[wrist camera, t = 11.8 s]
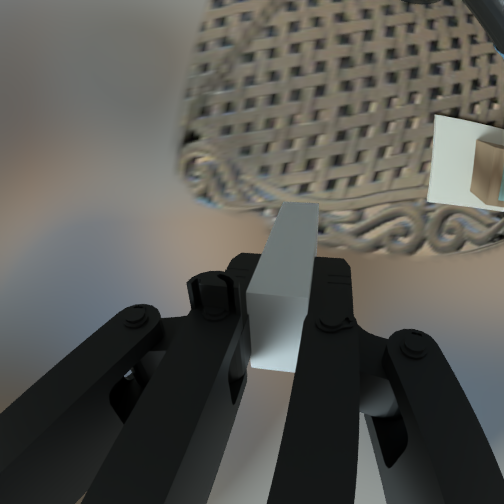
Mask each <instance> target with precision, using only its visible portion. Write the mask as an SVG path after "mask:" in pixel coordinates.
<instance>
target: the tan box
mask: <svg viewBox="0 0 504 504" xmlns="http://www.w3.org/2000/svg"><path fill="white" fill-rule="evenodd" d="M470 192H471V193H473V194H474V195H475V196H476V197H477V198H479V199H480V200H481V201H482V202H483V203H484V204H485V205H490V206H497V207H503V208H504V146H503V145H498V144H494V143H490V142H485V141H481V140H476V147H475V156H474V165H473V173H472V180H471V186H470Z"/></svg>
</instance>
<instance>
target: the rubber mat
mask: <svg viewBox="0 0 504 504" xmlns="http://www.w3.org/2000/svg"><path fill="white" fill-rule="evenodd" d="M476 140H481V141H485V142H490V143H494V144H498V145H503V146H504V129H500V128H496V127H493V126H489V125H484V124H480V123H476V122H471V121H467V120H462V119H457V118H452V117H446V116H441V115H435V123H434V140H433V152H432V163H431V172H430V181H429V189H428V196H427V201H428V202H434V203H443V204H451V205H459V206H467V207H475V208H482V209H489V210H496V211H502V212H504V208H503V207H497V206H490V205H485V204H484V203H483V202H482V201H481V200H480V199H479V198H477V197H476V196H475V195H474V194H473V193H471V192H470V186H471V180H472V173H473V165H474V156H475V147H476Z"/></svg>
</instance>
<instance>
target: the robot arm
mask: <svg viewBox="0 0 504 504" xmlns="http://www.w3.org/2000/svg"><path fill="white" fill-rule="evenodd" d="M401 1H405V2H408V3H413V4H431V3H435V2H438V1H440V0H401ZM462 1H463V2H464V3H465V4H466V6H467V7H468V8H469V10H470V11H471V12H472V13H473V15H474V16H475V17H476V19H477V20H478V21H479V23H480V24H481V26H482V27H483V28H484V30H485V31H486V33H487V34H488V36H489V37H490V39H491V40H492V42H493V46H494V48H495V49H496V51H497V52H498V53H499V54H500V55H501V56H502V57H503V59H504V0H462ZM318 215H319V203H300V202H283V204H282V206H281V209H280V211H279V213H278V216H277V218H276V221H275V223H274V226H273V228H272V231H271V233H270V235H269V238H268V240H267V243H266V245H265V248H264V250H263V253H262V254H254V253H240V254H239V255H237V256H236V257H235V258H233V259H232V260H231V262H230V263H229V265H228V267H227V270H225V272H223V271H209V272H204V273H200V274H198V275H196V276H194V277H192V278H191V279H190V280H189V281H188V282H187V289H188V294H189V299H190V304H191V311H190V312H189V314H188V315H187V316H181V317H171V318H161V315H160V313H159V311H158V309H157V308H155V307H153V306H152V305H147V304H138V305H133V306H130V307H127V308H125V309H123V310H122V311H120V312H119V313H118V314H116V315H115V316H114V317H113V318H111V319H110V320H109V321H108V322H107V323H105V324H104V325H103V326H102V327H100V328H99V329H98V330H97V331H96V332H94V333H93V334H92V335H91V336H90V337H88V338H87V339H86V340H85V341H84V342H82V343H81V344H80V345H79V346H78V347H76V348H75V349H74V350H73V351H72V352H70V354H68V355H67V356H66V357H65V358H63V359H62V360H61V361H60V362H59V363H58V364H56V365H55V366H54V367H53V368H52V369H51V370H49V371H48V372H47V373H46V374H45V375H44V376H42V377H41V378H40V379H39V380H38V381H37V382H36V383H34V385H32V386H31V387H30V388H29V389H28V390H26V391H25V392H24V393H23V394H22V395H21V396H20V397H19V398H18V399H16V400H15V401H14V402H13V403H12V404H11V405H10V406H9V407H7V408H6V409H5V410H4V411H3V412H2V413H1V414H0V504H75V503H76V502H77V501H78V500H79V499H80V498H81V497H82V496H83V495H84V494H85V492H86V491H87V490H88V491H87V493H86V495H85V497H84V499H83V500H82V502H81V504H206V503H207V500H208V498H209V495H210V492H211V489H212V486H213V483H214V480H215V477H216V474H217V472H218V468H219V466H220V463H221V460H222V457H223V454H224V451H225V448H226V445H227V442H228V439H229V436H230V433H231V429H232V427H233V424H234V421H235V417H236V414H237V411H238V408H239V405H240V402H241V399H242V395H243V392H244V389H245V386H246V383H247V365H248V362H249V359H251V367H254V368H261V369H269V370H277V371H286V372H295V376H294V381H293V386H292V392H291V396H290V402H289V407H288V412H287V417H286V422H285V427H284V432H283V436H282V441H281V445H280V450H279V454H278V459H277V463H276V467H275V472H274V476H273V480H272V485H271V488H270V492H269V496H268V500H267V504H354V499H355V489H356V476H357V462H358V444H359V442H358V441H359V412H362V413H364V417H365V420H366V424H367V427H368V431H369V435H370V438H371V442H372V445H373V449H374V453H375V457H376V461H377V465H378V469H379V473H380V477H381V481H382V485H383V490H384V494H385V498H386V503H387V504H504V479H503V476H502V473H501V471H500V468H499V466H498V463H497V461H496V459H495V456H494V454H493V452H492V449H491V447H490V445H489V443H488V440H487V438H486V436H485V434H484V431H483V429H482V427H481V425H480V423H479V421H478V419H477V417H476V415H475V413H474V411H473V409H472V407H471V405H470V403H469V401H468V399H467V397H466V395H465V393H464V391H463V389H462V387H461V386H460V383H459V381H458V380H457V378H456V377H455V374H454V372H453V371H452V369H451V367H450V365H449V363H448V362H447V360H446V358H445V356H444V355H443V353H442V351H441V349H440V348H439V346H438V344H437V343H436V342H435V341H434V339H433V338H432V337H431V336H429V335H428V334H426V333H424V332H422V331H418V330H415V329H403V330H400V331H396V332H395V333H393V334H392V335H391V336H390V337H389V339H385V338H382V337H378V336H375V335H373V334H370V333H368V332H366V331H365V330H363V329H362V328H361V327H360V326H359V325H358V324H357V321H356V319H355V317H354V314H353V297H352V286H351V285H352V282H351V270H350V266H349V265H348V263H347V262H346V261H345V260H344V259H342V258H328V257H316V254H317V237H318ZM130 369H131V371H132V373H131V374H130V375H129V376H127V377H124V375H125V374H126V373H127V372H128V371H129V370H130Z"/></svg>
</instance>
